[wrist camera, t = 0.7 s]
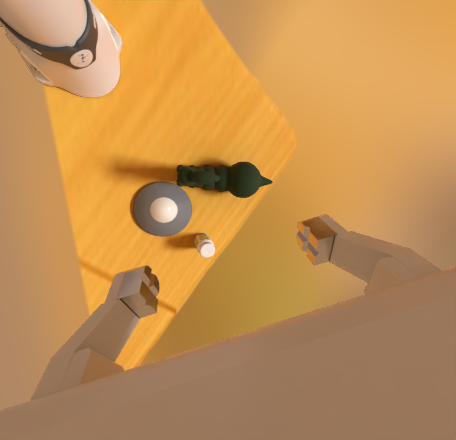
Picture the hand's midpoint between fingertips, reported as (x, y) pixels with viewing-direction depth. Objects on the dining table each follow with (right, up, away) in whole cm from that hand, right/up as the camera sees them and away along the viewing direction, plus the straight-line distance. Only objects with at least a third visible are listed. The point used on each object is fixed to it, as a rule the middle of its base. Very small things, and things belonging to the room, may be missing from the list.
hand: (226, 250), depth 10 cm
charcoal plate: (-18, +4, +40) cm, 44 cm away
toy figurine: (-3, +14, +44) cm, 46 cm away
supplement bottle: (-8, -5, +46) cm, 47 cm away
